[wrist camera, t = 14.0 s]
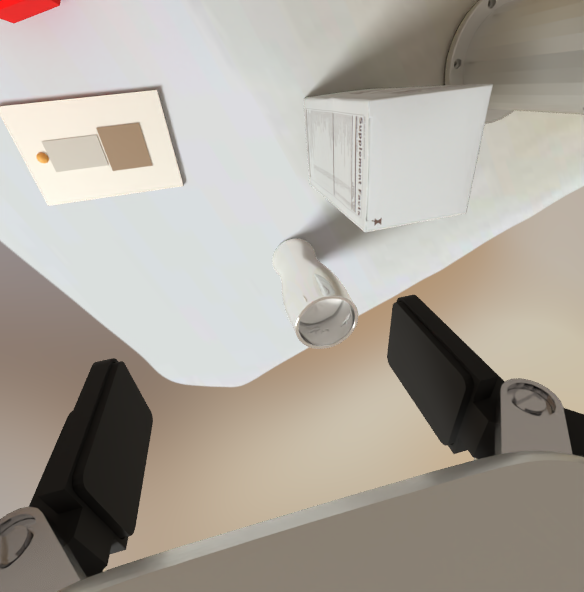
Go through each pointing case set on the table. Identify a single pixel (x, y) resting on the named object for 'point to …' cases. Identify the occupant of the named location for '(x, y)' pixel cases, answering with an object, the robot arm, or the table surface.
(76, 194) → the card
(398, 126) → the supplement box
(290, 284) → the beer glass
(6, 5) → the ball
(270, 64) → the table surface
